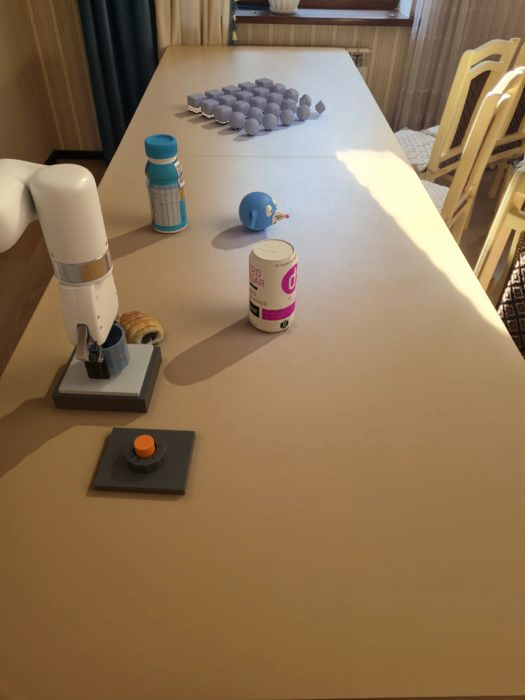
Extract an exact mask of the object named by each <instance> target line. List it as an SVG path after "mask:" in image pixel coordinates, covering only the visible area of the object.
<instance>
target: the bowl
mask: <svg viewBox="0 0 525 700" xmlns="http://www.w3.org/2000/svg"><path fill="white" fill-rule="evenodd" d="M119 324H120V323H113V324H112V327H111V329H110V331H109V334H108V336H107V338H106V340H105V342H104V343H103V357H106V359H107V363H108V367H109V371H110V375H113V374H116V373H118V372H120V371H122V370H123V369H124V368H125V367H126V366H127V365H128V363H129V360H130V355H129V351H128V346H127V344H128V342H127V340H126V336H125V332H124V329H123V328H122V327H121V326H120V325H119ZM89 339H93V338H92V337H91V336H89ZM96 346H97V345H89V348H88V350H89V352H90V353H96V354H97V347H96ZM84 366H85V363H84ZM85 369H86V366H85Z"/></svg>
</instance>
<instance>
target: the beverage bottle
mask: <svg viewBox="0 0 525 700" xmlns="http://www.w3.org/2000/svg"><path fill="white" fill-rule="evenodd" d="M143 145H144V150H145V155H146V158H148V160H147V161H146V163H145V166H144V175H145V176H146V179H145V188H146V190H147V197H148V203H149V210H150V219H151V225H152V228H153V230H155V231H156V232H158V233H161V234H175V233H178V232H179V233H180V232H181V231H183V230H185V228H187V226H188V216H187V208H186V194H185V186H186V183H185V177H184V176H183V173H184V169H183V166H182V163H181V162H180V159H178V158H177V156H178V152H179V151H178V150H179V149H178V141H177V138H176V136H174V135H172V134H168V133H167V134H166V133H156V134H152V135H149V136H147V137H146V138H145V139H144V143H143Z"/></svg>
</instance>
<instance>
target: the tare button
mask: <svg viewBox="0 0 525 700" xmlns="http://www.w3.org/2000/svg"><path fill="white" fill-rule="evenodd" d="M134 447H135V451H136V454H137V455H138V456H139V457H141V458H147V457H150V456H151V455H152V454H153V453H154V451H155V446H154V441H153V438H152V437H151V436H149V435H141V436H139V437H137V438H136V439H135V441H134Z"/></svg>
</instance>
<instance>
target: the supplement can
mask: <svg viewBox="0 0 525 700" xmlns="http://www.w3.org/2000/svg"><path fill="white" fill-rule="evenodd" d="M298 263H299V256H298V254H297V252H296V250H295V247H294V245H293V244H292V243H291V242H289V241H287V240H285V239H280V238H265V239H261V240H259V241H257V242H256V243H254V245H253V247H252V249H251V250H250V253H249V255H248V301H249V302H248V316H249V318H248V319H249V322H250V323H251V325H253V326H254V327H255V328H256V329H258V330H260V331H263V332H267V333H279V332H282V331H284V330H286V329H288V328H290V327H291V325H292V324H293V323H294V321H295V315H296V313H295V312H296V297H297V295H296V294H297V282H298Z"/></svg>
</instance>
